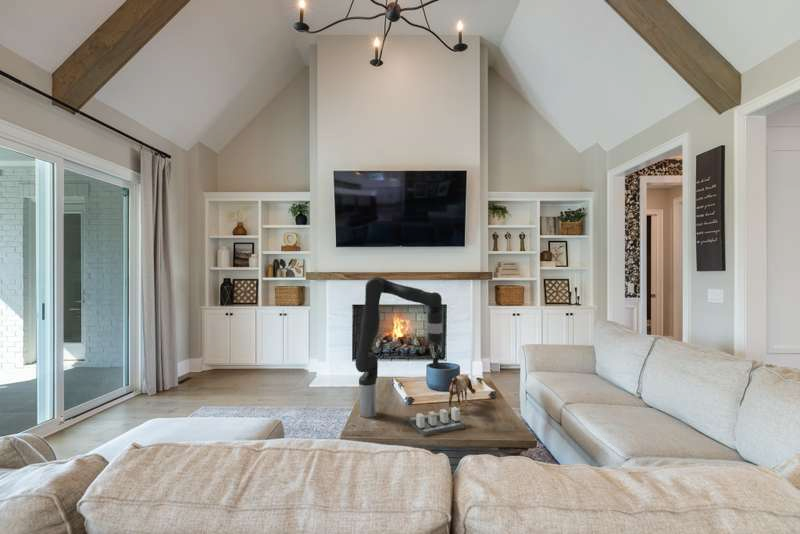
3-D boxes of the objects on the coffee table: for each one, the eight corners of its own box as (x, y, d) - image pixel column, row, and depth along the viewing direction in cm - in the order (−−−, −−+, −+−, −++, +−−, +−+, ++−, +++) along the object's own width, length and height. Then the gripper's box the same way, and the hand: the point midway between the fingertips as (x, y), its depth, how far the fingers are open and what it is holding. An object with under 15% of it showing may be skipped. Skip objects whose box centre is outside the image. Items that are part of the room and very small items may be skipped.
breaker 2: (428, 422, 202) (428, 411, 202) (432, 421, 203) (432, 410, 203) (431, 425, 198) (431, 414, 198) (436, 425, 199) (436, 413, 199)
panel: (407, 422, 209) (407, 418, 209) (446, 414, 217) (446, 411, 217) (422, 436, 192) (422, 432, 192) (464, 428, 200) (464, 423, 200)
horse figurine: (456, 418, 212) (455, 379, 211) (442, 416, 216) (441, 377, 215) (476, 399, 239) (476, 365, 238) (464, 397, 242) (463, 363, 242)
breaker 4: (451, 418, 207) (451, 407, 207) (455, 417, 208) (455, 406, 207) (455, 421, 203) (455, 410, 203) (459, 420, 204) (459, 409, 204)
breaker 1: (416, 425, 199) (416, 413, 199) (421, 424, 200) (420, 413, 200) (419, 428, 196) (419, 416, 196) (424, 427, 197) (424, 416, 196)
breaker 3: (440, 420, 204) (439, 409, 204) (444, 419, 205) (444, 408, 205) (443, 423, 201) (443, 412, 200) (448, 422, 202) (448, 411, 201)
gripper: (422, 330, 213) (423, 362, 214) (434, 334, 201) (434, 369, 202) (435, 328, 216) (436, 361, 217) (447, 333, 204) (448, 367, 205)
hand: (435, 364), depth 209 cm, fingers closed
